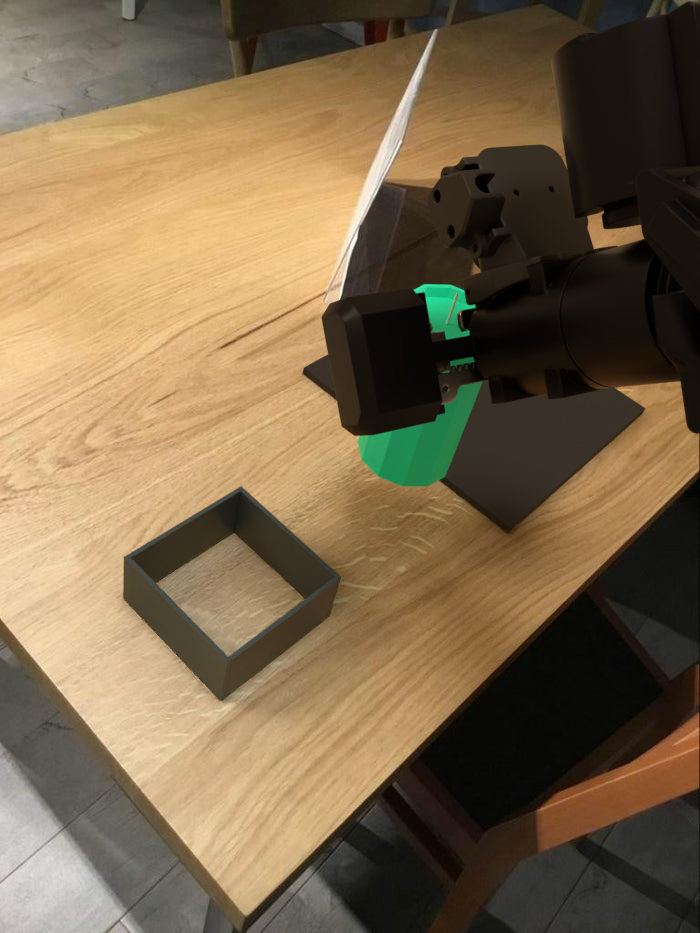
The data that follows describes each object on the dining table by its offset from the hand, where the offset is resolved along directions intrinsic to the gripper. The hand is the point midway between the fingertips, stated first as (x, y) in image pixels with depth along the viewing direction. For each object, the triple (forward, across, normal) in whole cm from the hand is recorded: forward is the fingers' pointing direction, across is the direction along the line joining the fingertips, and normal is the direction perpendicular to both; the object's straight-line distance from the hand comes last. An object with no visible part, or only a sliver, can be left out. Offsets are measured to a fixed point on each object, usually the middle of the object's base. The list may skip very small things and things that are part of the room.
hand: (420, 356), depth 51 cm
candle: (+4, 0, +6) cm, 7 cm away
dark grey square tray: (+6, +12, +12) cm, 19 cm away
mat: (+14, -14, +4) cm, 20 cm away
